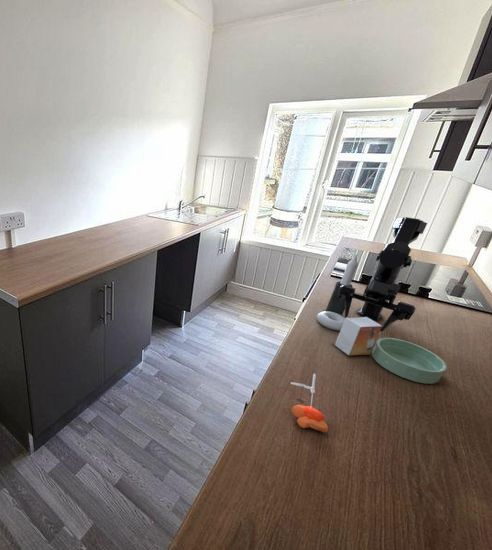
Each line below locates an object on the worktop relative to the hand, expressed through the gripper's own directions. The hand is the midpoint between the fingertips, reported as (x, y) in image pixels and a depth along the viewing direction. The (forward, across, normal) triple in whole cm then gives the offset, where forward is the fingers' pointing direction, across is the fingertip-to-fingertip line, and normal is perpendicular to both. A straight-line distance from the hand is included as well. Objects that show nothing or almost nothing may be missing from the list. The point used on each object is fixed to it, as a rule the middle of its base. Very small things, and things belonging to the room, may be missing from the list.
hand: (362, 324), depth 91 cm
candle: (-7, -10, +20) cm, 24 cm away
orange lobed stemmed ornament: (+36, -2, -24) cm, 44 cm away
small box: (+8, 0, +5) cm, 9 cm away
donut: (-1, -8, +14) cm, 17 cm away
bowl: (+5, +12, +8) cm, 15 cm away
